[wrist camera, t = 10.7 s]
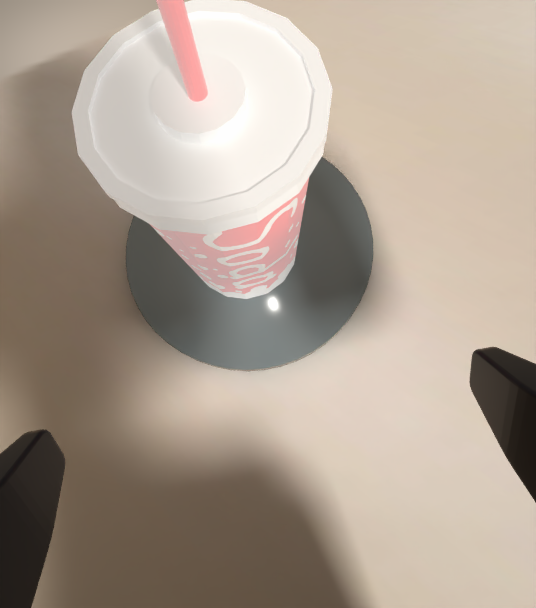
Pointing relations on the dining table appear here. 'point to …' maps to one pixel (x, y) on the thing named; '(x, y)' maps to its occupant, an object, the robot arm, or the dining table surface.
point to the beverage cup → (209, 134)
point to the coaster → (269, 307)
